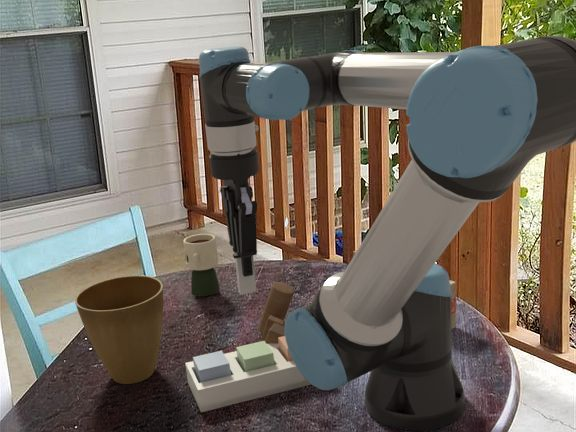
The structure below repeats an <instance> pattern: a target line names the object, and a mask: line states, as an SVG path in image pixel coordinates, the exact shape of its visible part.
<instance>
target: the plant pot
mask: <svg viewBox="0 0 576 432" xmlns="http://www.w3.org/2000/svg"><path fill="white" fill-rule="evenodd" d="M74 303H75V306H76V309H77V311H78V314H79V317H80V319H81V323H82V324H83V325H82V326H83V327H84V329H85V332H86V335H87V336H88V339H89V340H90V341H89V342H91V345H92V347H93V349H94V351H95V352H96V355H97V356H98V358H99V360H100V361H101V363H102V365H103V366H104V368H105V370H106V371H107V372H108V374H109V375H110V377H111V378H112V379H113V381H114V382H116V383H118V384H122V385H130V384H131V385H132V384H136V383H140V382H143V381H145V380H147V379H148V378H150V377H151V376H152V375H153V374H154V372H155V369H156V365H157V361H158V356H159V353H160V352H159V351H160V346H161V337H162V330H163V319H164V317H163V316H164V314H163V313H164V286H163V282H162V281H161V280H159V279H158V278H156V277H153V276H148V275H141V274H140V275H139V274H137V275H136V274H135V275H134V274H133V275H125V276H117V277H113V278H108V279H104V280H102V281H99V282H95V283H93V284H91V285H90V286H87V287H85V288H84V289H82V290H81V291H80V292H79V293H78V294H76V297H75V299H74Z"/></svg>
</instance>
